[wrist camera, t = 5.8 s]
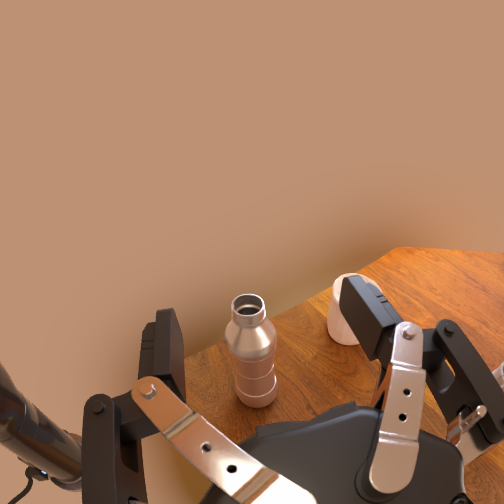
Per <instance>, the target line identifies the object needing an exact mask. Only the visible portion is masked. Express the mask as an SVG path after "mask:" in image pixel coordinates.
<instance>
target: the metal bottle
mask: <svg viewBox="0 0 504 504" xmlns="http://www.w3.org/2000/svg"><path fill="white" fill-rule="evenodd" d="M231 309H232V320H231V321H230V323H229V324H228V325H227V327H226V331H225V336H224V338H225V343H226V346H227V349H228V351H229V353H230V356H231V358H232V360H233V363H234V367H235V371H236V380H235V391H236V394H237V396H238V397H239V399H240V400H241V401H242V403H244V404H245V405H247V406H249V407H253V408H261V407H265V406H267V405H269V404H270V403H272V401H273V400H274V399H275V397H276V394H277V391H278V384H277V380H276V377H275V375H274V369H273V362H274V354H275V349H276V345H277V332H276V330H275V328H274V325H273V324H272V322H271V321H270V320H269V319H267V318H266V312H265V305H264V302H263V300H262V299H261V298H260V297H259V296H257V295H253V294H243V295H240V296H238V297H236V298H235V299H234V300H233V302H232V305H231Z"/></svg>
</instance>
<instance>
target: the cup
mask: <svg viewBox="0 0 504 504" xmlns="http://www.w3.org/2000/svg"><path fill="white" fill-rule="evenodd" d="M353 275H360V276H361V277H362V279H363V280H364V281H365V282H366V283H371V284H372V285H374V286H376V287H377V288H378V289H379V290H380V291H381V289H380V287H379V286H378V284H376V283H375V282H374V281H373V280H372V279H370V278H368V277H366V276H364V275H361V274H358V273H348V274H344V275H342V276H340V277H339V278H337V279H336V280H335V282H334V284H333V294H332V300H331V303H330V307H329V311H328V318H327V326H328V332H329V334H330V336H331V338H333V339H334V340H335V341H336V342H338V343H340V344H343V345H357V344H360V343H359V342H358V340H357V338H356V337H355V335H354V333H353V332H352V330H351V328H350V327H349V325H348V323H347V322H346V320H345V318H344V317H343V315H342V313H341V311H340V308H339V298H340V292H341V286H342V280H343V278H344V277H348V276H353ZM381 293H382V291H381Z"/></svg>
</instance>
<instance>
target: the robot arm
mask: <svg viewBox="0 0 504 504" xmlns="http://www.w3.org/2000/svg"><path fill="white" fill-rule="evenodd" d="M339 308H340V311H341V313H342V315H343V317H344V318H345V320H346V322H347V323H348V325H349V327H350V328H351V330H352V332H353V333H354V335H355V337H356V338H357V340H358V342H359V343H360V345H361V347H362V348H363V350H364V352H365V354H366V355H367V357H368V359H369V361H373V360H375V359H379V361H380V363H381V364H380V368H379V372H378V377H377V382H376V386H375V390H374V394H373V398H372V401H371V403H370V405H369V407H367V406H356V404H355V401H351V402H349V403H346V404H343V405H340V406H336V407H333V408H331V409H329V410H327V411H326V412H324V413H322V414H321V415H319V416H317V417H315V418H314V419H312V420H310V421H298V422H278V423H273V424H269V425H264V426H259V427H255V430H256V433H255V434H253V435H251V436H249V437H247V438H245V439H244V440H243V441H241V442H240V443H239V444H238V445H236V444H235V443H234V442H232V441H231V440H230V439H228V438H227V437H226V436H225V435H224V434H222V433H221V432H220V431H219V430H218V429H216V428H215V427H214V426H213V425H212V424H210V423H209V422H208V421H207V420H206V419H205V418H204V417H202V416H201V415H200V414H199V413H197V412H193V411H192V410H191V409H190V408H189V407H188V406H186V405H185V404H184V403H186V390H185V372H184V347H183V337H182V332H181V329H180V326H179V323H178V320H177V317H176V314H175V311H174V309H173V308H170V309H163V310H157V313H156V322H151V323H148V324H147V325H146V327H145V329H144V330H143V333H142V343H141V351H140V361H139V373H138V380H137V382H136V383H135V384H134V385H133V387H132V390H130V391H129V392H127V393H125V394H123V395H120V396H117V397H114V398H110V397H109V396H107V395H105V394H96V395H94V396H92V397H90V398H89V399H88V400H87V402H86V404H85V406H84V416H83V428H82V444H81V443H80V442H78V441H77V440H75V439H73V438H72V437H71V436H70V435H68V434H67V433H68V432H67V431H66V430H63V429H61V428H60V427H58V426H57V425H56V424H55V423H54V422H53V421H51V420H50V419H49V418H48V417H47V416H45V415H44V414H43V413H42V412H41V411H40V410H39V409H38V408H37V407H36V406H35V405H34V404H33V403H31V402H30V401H29V400H28V399H27V398H26V397H25V396H24V395H23V394H22V393H21V392H20V391H19V390H18V389H17V387H16V386H15V385H14V383H13V381H12V379H11V377H10V376H9V374H8V372H7V371H6V369H5V368H4V366H3V365H2V364H1V362H0V445H2V446H3V447H5V448H6V449H8V450H9V451H10V452H12V453H13V454H15V455H16V456H17V457H18V459H19V460H21V461H22V462H24V463H25V464H27V465H28V466H29V467H28V468H27V469H26V471H25V475H26V477H27V478H28V479H29V481H28V485H27V486H26V488H25V489H24V490H23V491H22V492H21V493H20V494H18V495H17V496H16V497H15V498H13V499H12V500H11V501H10V502H9V503H8V504H15V503H16V502H18V501H19V500H20V499H21V498H23V497H24V496H25V495H26V494H27V493H28V492H29V491H30V489H31V487H32V484H33V480H32V477H33V478H35V479H37V480H39V481H44V480H48V477H50V478H52V479H57V480H59V481H61V482H63V483H66V484H75V483H78V482H80V481H82V503H83V504H148V500H147V493H146V485H145V478H144V468H143V458H142V446H141V439H142V438H145V437H147V436H150V435H153V434H156V433H158V432H161V433H162V434H163V435H164V437H166V439H167V440H168V441H169V442H170V443H171V444H172V445H173V446H174V447H175V448H176V449H177V450H178V451H179V452H180V453H181V454H182V455H183V456H184V457H185V458H186V459H187V460H188V461H189V462H190V463H191V464H192V465H193V466H194V467H195V468H197V469H198V470H199V471H200V472H201V473H202V474H203V475H204V476H206V477H207V478H208V479H209V480H210V481H211V482H212V484H211V486H210V487H209V489H208V490H207V492H206V493H205V495H204V497H203V498H202V500H201V501H200V503H199V504H473V503H472V501H471V500H470V499H469V498H468V497H467V495H466V493H465V488H464V466H465V465H467V464H468V463H470V462H471V461H472V460H474V459H477V458H478V457H480V456H481V455H483V454H484V453H487V452H488V451H490V450H491V449H493V448H494V447H495V446H497V445H498V444H499V443H501V442H502V441H503V440H504V392H503V390H502V388H501V387H500V385H499V383H498V382H497V380H496V379H495V377H494V376H493V374H492V372H491V371H490V369H489V368H488V366H487V365H486V363H485V362H484V361H483V359H482V358H481V356H480V355H479V353H478V352H477V350H476V349H475V348H474V346H473V345H472V343H471V342H470V341H469V339H468V338H467V337H466V335H465V334H464V333H463V331H462V330H461V329H460V327H459V326H458V325H457V324H456V323H455V322H453V321H451V320H447V319H444V320H441V321H439V322H438V323H437V325H436V327H435V328H433V329H421V328H420V327H419V326H418V325H416V324H415V323H412V322H404V321H403V319H402V318H401V317H400V315H399V314H398V313H397V312H396V310H395V309H394V308H393V306H392V305H391V304H390V303H389V302H388V300H387V299H386V298H385V296H383V294H382V293H381V291H380V290H379V289H378V288H377V287H376V286H374V285H372V284H371V283H366V282H365V281H364V280H363V279H362V277H361V276H360V275H353V276H348V277H344V278H343V280H342V286H341V292H340V298H339ZM446 359H447V360H448V362H449V364H450V365H451V367H452V368H453V370H454V372H455V376H454V375H453V373H452V371H451V370H450V368H449V367H448V365H447V364H446V362H445V360H446ZM425 382H426V383H427V385H428V387H429V389H430V391H431V392H432V394H433V396H434V398H435V400H436V402H437V404H438V405H439V407H440V409H441V411H442V413H443V415H444V417H445V419H446V421H447V423H448V428H447V436H446V440H447V441H446V440H444V439H441V438H439V437H437V436H435V435H432V434H430V433H428V432H426V431H423V430H421V429H420V423H421V416H422V409H423V401H424V392H425ZM69 434H70V433H69Z"/></svg>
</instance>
